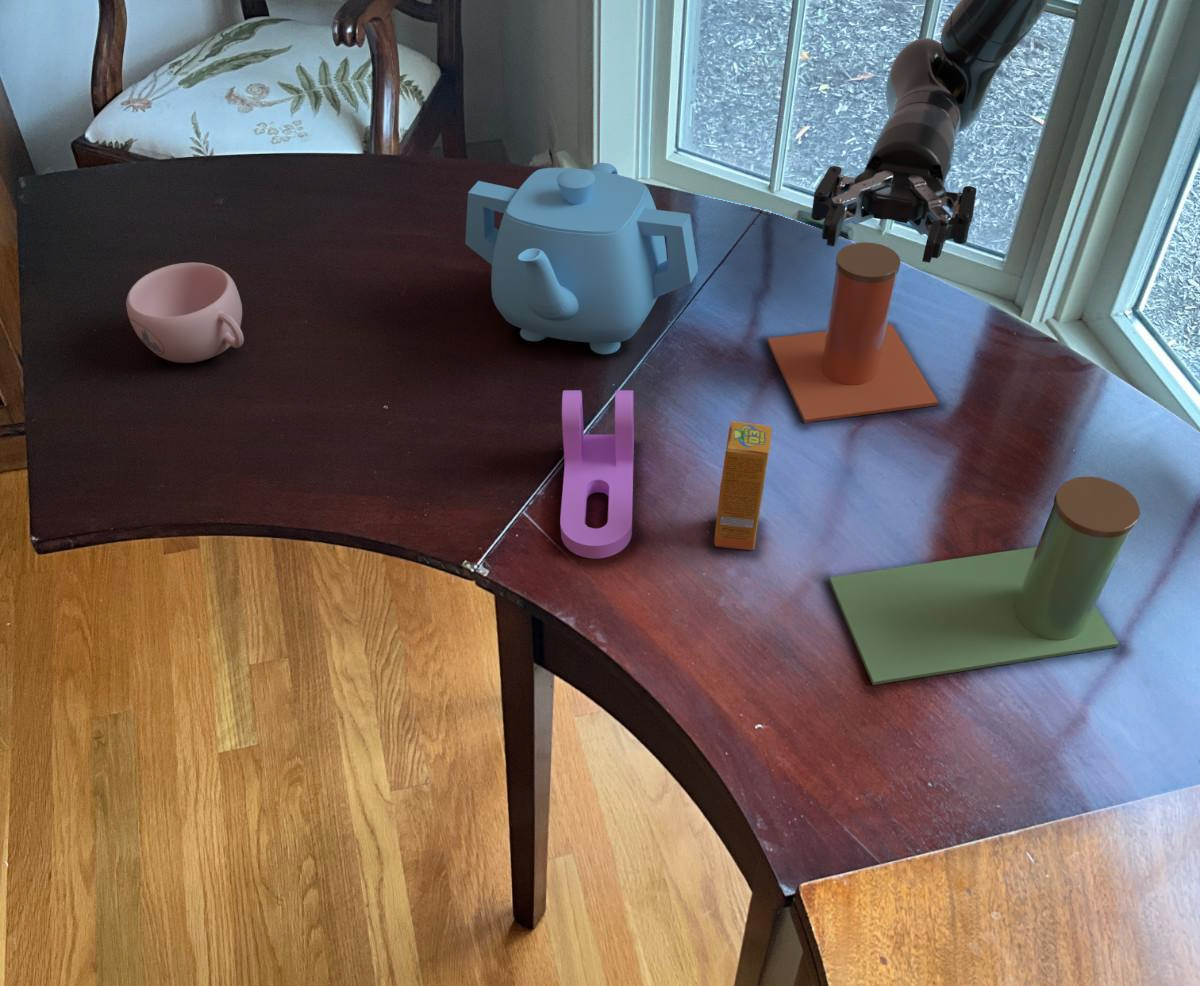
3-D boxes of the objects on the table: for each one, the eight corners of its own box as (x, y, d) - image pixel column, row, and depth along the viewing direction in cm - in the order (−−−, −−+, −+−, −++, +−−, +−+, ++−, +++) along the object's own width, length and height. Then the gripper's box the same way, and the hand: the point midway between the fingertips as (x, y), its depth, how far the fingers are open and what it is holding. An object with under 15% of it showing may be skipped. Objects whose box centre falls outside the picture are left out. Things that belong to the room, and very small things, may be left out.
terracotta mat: (890, 326, 104) (891, 322, 104) (937, 405, 96) (938, 401, 96) (766, 341, 103) (767, 338, 103) (804, 423, 95) (804, 419, 95)
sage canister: (1068, 582, 82) (1116, 471, 74) (1101, 635, 79) (1155, 525, 70) (1001, 592, 82) (1042, 481, 73) (1031, 646, 78) (1077, 536, 70)
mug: (121, 354, 104) (99, 300, 100) (199, 302, 110) (181, 248, 105) (212, 395, 100) (192, 340, 96) (288, 339, 105) (273, 285, 101)
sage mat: (1055, 547, 85) (1056, 543, 85) (1117, 647, 78) (1118, 643, 78) (828, 580, 83) (829, 577, 83) (872, 685, 77) (873, 681, 76)
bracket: (567, 447, 94) (563, 380, 89) (633, 447, 94) (633, 380, 89) (559, 558, 86) (553, 491, 80) (631, 558, 85) (630, 492, 80)
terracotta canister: (879, 353, 101) (900, 244, 93) (878, 388, 98) (900, 279, 89) (821, 348, 102) (837, 239, 93) (818, 383, 98) (835, 273, 90)
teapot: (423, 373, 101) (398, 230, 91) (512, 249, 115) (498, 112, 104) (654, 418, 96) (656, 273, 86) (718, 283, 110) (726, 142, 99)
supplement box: (758, 552, 85) (769, 453, 78) (713, 547, 86) (720, 449, 78) (760, 522, 88) (772, 423, 80) (717, 518, 88) (724, 419, 80)
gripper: (843, 110, 107) (804, 193, 97) (995, 131, 103) (971, 219, 93) (833, 184, 112) (795, 268, 102) (976, 206, 109) (952, 296, 99)
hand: (879, 245), depth 98 cm, fingers open, 8 cm apart
